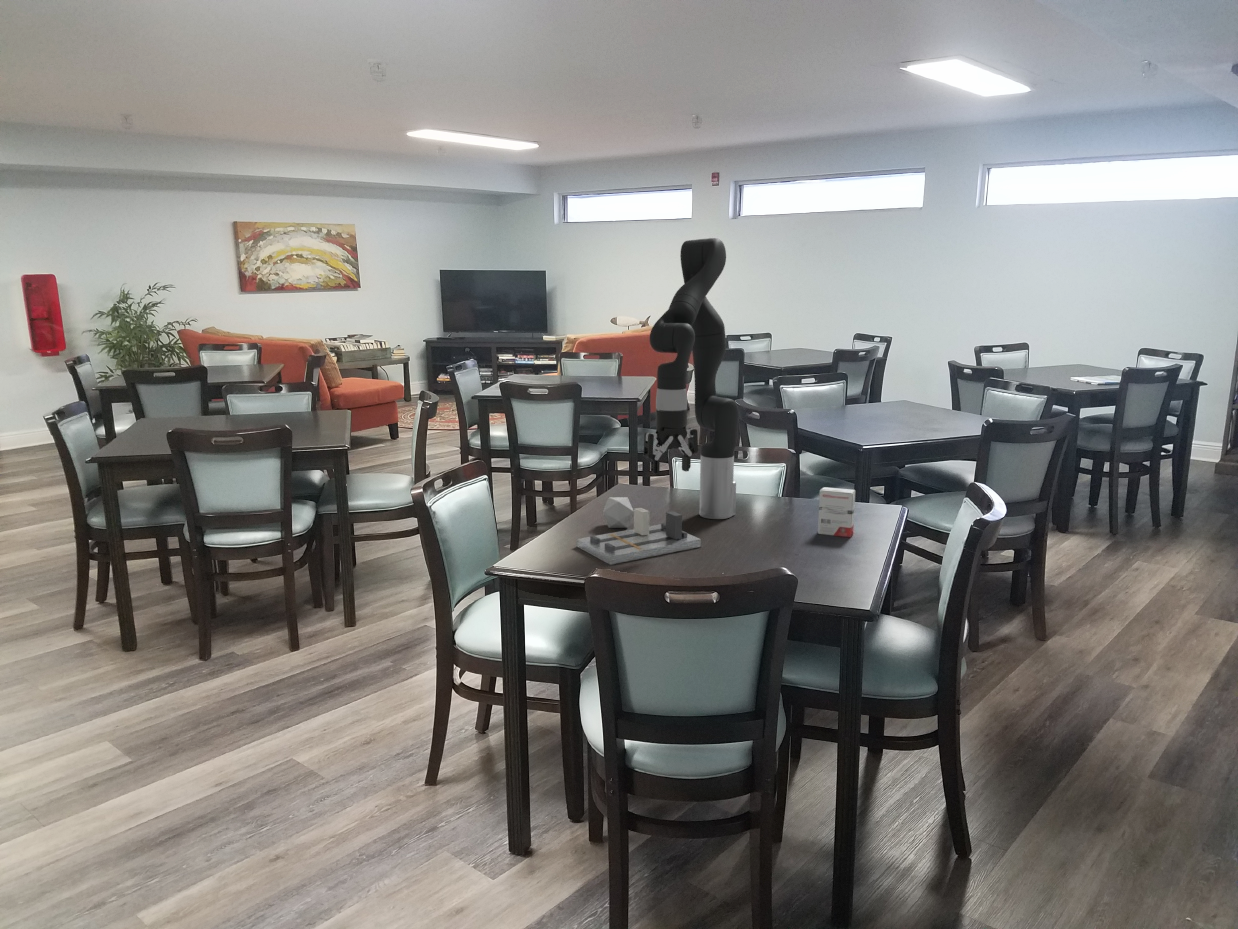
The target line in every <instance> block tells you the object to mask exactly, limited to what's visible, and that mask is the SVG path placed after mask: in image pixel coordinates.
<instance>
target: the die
mask: <svg viewBox="0 0 1238 929" xmlns="http://www.w3.org/2000/svg"><path fill="white" fill-rule="evenodd" d="M602 514H603V517H604V519H605V522H606V525H607V527H608V528H609V529H628V528H629V527H630V524H631V520H632V517H634V508H633V507H632V504H631V502H630V500H629V498H628V497H627V496H626V497H625V496H624V497H622V496H621V497H619V496H617V497H611V496H610V497H608V498H607V500H606V503H605V506H604V508H603V510H602Z"/></svg>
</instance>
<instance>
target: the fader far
mask: <svg viewBox="0 0 1238 929" xmlns="http://www.w3.org/2000/svg"><path fill="white" fill-rule="evenodd" d="M633 511H634V513H633V529H634V532H636V533H638V534H640V535H642V536H643V535H648V534H649V526H650V510H648V509H645V508H642V507H637V508H636V507H635V508H633Z"/></svg>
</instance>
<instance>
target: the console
mask: <svg viewBox="0 0 1238 929" xmlns="http://www.w3.org/2000/svg"><path fill="white" fill-rule="evenodd" d="M701 544H702V539H701V538H699V537H696V536H694V535H692V534H689V533H688V532H686V531H684V530H682V538H681V539H673V538H670V537H668V536H666V522H663V523H660V524H655V525H649V534H648V535H643V536H642V535H640V534H638V533H636V532H634V528H631V529H626V530H621V531H614V532H609V533H604V534H598V535H590V536H587V537H582V538H576V545H577V546H576V547H577V548H579V549H581V550H582V551H585V552H586V553H588V554H589V555H591V556H594V557H595V558H597V559H599V560H601V561H602V562H605V563H606V564H608V565H611V566H612V565H615V564H617V565H618V564H622V563H625V562H631V561H636V560H637V561H638V560H642V559H646V558H651V557H656V556H661V555H667V554H671V553H676V552H681V551H682V552H683V551H688V550H693V549H697V548H701Z"/></svg>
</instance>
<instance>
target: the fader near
mask: <svg viewBox="0 0 1238 929" xmlns="http://www.w3.org/2000/svg"><path fill="white" fill-rule="evenodd" d="M665 524H666V536H668V537H670V538H673V539H681V538H682V531H683V514H680V513H679V512H676V511H673V510H671V511H666V512H665Z"/></svg>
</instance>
